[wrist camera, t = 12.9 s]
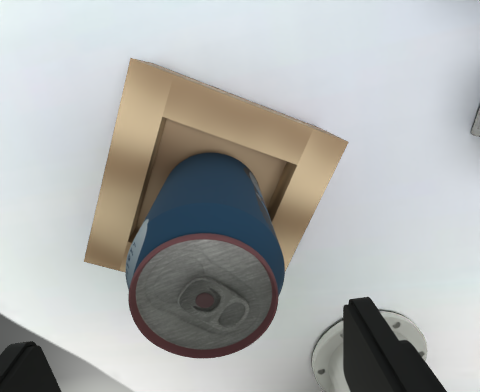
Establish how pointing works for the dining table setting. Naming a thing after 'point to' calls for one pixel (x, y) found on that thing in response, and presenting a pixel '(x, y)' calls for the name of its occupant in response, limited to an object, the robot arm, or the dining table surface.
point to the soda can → (205, 261)
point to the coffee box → (476, 125)
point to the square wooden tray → (204, 141)
